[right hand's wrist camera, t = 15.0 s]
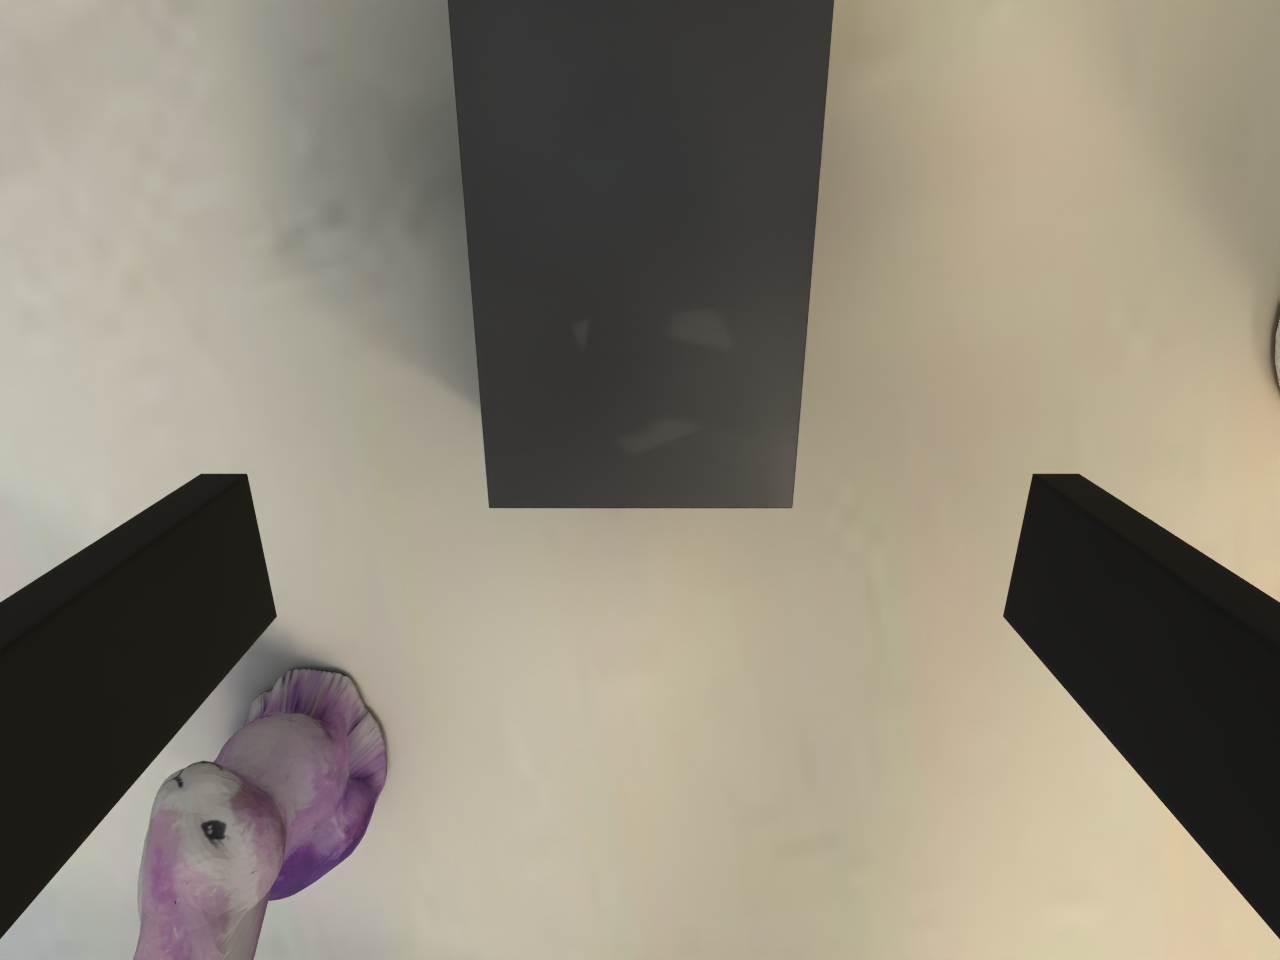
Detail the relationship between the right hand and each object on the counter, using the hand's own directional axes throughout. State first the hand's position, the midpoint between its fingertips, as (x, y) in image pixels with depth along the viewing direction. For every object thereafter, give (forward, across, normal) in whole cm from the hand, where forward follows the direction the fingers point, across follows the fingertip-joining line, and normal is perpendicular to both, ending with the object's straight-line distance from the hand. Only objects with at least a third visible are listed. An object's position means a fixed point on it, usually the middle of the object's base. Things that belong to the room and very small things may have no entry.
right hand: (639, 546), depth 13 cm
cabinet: (+21, 0, -3) cm, 21 cm away
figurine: (+21, +18, +22) cm, 35 cm away
